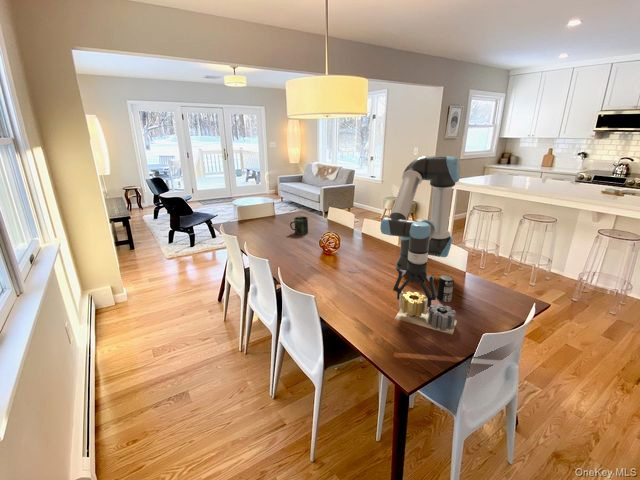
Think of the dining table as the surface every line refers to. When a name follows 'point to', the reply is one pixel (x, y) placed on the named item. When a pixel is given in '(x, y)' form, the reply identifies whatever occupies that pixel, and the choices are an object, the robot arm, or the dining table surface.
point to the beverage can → (445, 288)
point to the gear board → (420, 321)
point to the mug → (300, 225)
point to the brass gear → (413, 303)
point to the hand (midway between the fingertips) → (412, 309)
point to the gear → (441, 317)
